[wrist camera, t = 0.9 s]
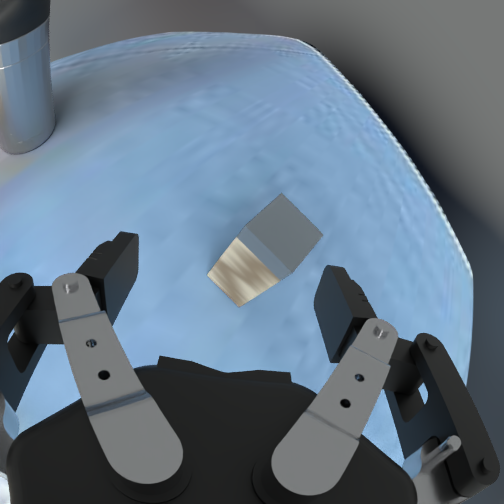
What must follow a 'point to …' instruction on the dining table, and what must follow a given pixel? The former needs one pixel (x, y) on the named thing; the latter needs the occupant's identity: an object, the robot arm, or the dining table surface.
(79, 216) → the dining table surface
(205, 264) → the dining table surface
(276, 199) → the maple block
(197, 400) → the robot arm
